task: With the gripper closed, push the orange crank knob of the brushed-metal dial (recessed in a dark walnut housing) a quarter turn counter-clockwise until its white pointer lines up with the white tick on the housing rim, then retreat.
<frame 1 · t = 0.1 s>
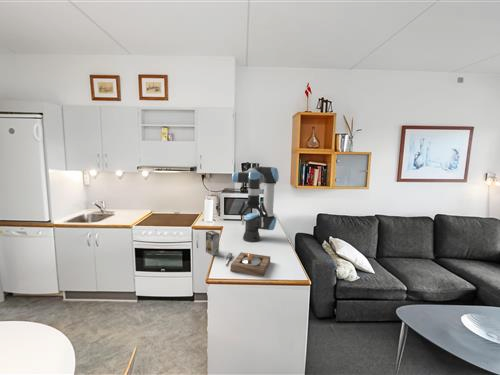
hand: (252, 225, 173), 28 cm above the worktop, fingers open, 13 cm apart
screwdriver: (228, 259, 184), on the worktop
coffee box: (212, 253, 195), on the worktop
housing: (251, 266, 174), on the worktop
dial: (251, 257, 173), point 6 cm above the worktop, hinge at 0.0°
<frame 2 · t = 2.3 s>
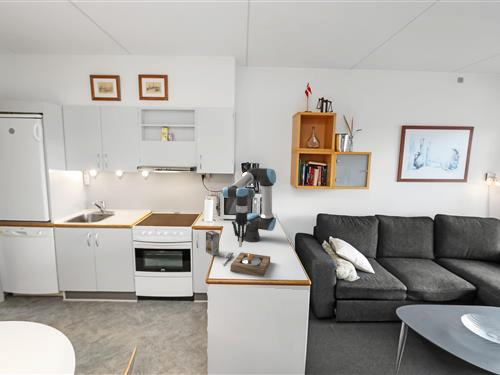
hand: (240, 246, 169), 15 cm above the worktop, fingers closed
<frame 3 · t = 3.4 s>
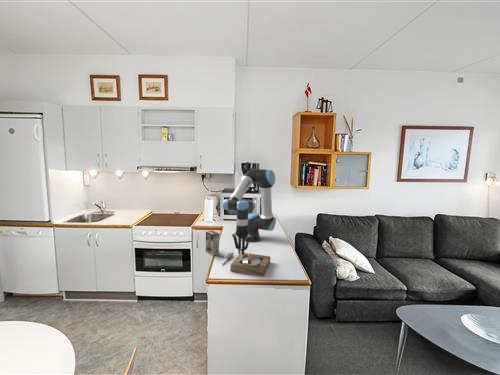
hand: (241, 258, 170), 6 cm above the worktop, fingers closed
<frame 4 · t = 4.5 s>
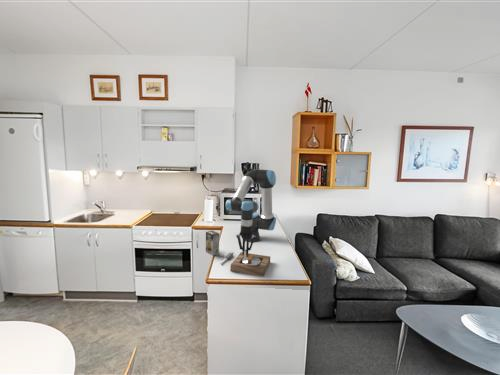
hand: (245, 259, 169), 6 cm above the worktop, fingers closed
dial: (251, 257, 173), point 6 cm above the worktop, hinge at 0.6°, touching gripper
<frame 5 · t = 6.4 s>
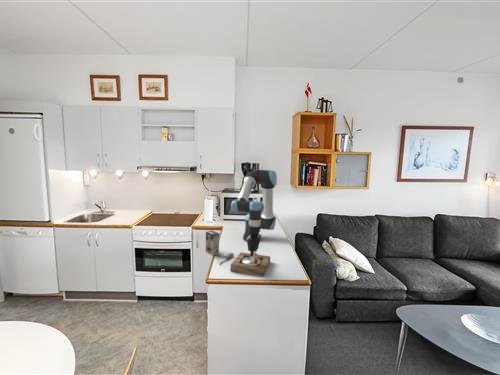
hand: (252, 260, 168), 7 cm above the worktop, fingers closed
dial: (251, 257, 173), point 6 cm above the worktop, hinge at 53.0°, touching gripper
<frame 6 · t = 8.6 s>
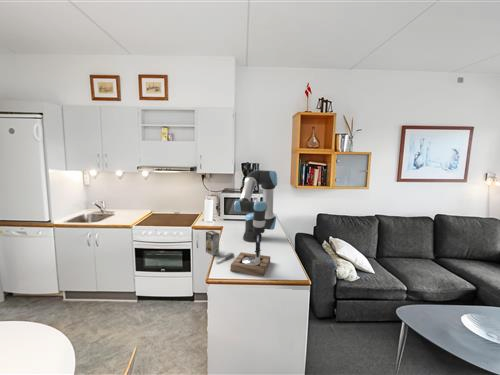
hand: (257, 261, 167), 7 cm above the worktop, fingers closed
dial: (251, 257, 173), point 6 cm above the worktop, hinge at 97.7°
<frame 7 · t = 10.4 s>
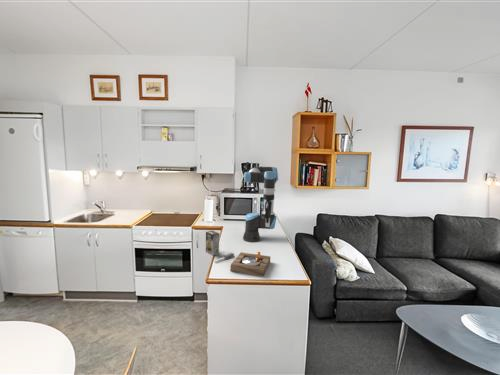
hand: (267, 226, 180), 25 cm above the worktop, fingers closed
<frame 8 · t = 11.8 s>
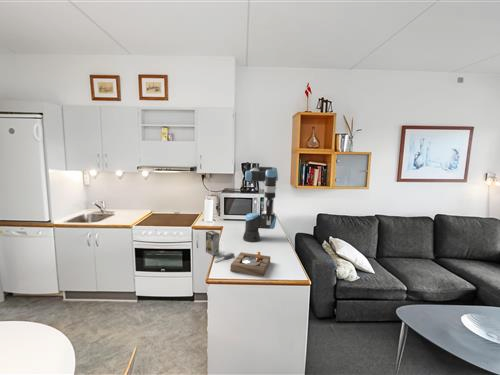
hand: (268, 224, 182), 26 cm above the worktop, fingers closed
at the end: dial at +98° (first picture: +0°); screwdriver moved 3.2 cm from its start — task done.
